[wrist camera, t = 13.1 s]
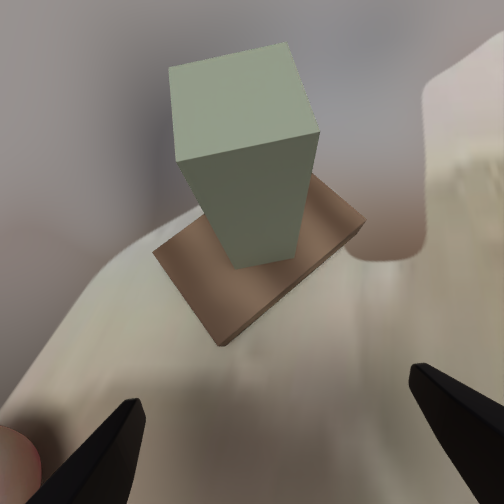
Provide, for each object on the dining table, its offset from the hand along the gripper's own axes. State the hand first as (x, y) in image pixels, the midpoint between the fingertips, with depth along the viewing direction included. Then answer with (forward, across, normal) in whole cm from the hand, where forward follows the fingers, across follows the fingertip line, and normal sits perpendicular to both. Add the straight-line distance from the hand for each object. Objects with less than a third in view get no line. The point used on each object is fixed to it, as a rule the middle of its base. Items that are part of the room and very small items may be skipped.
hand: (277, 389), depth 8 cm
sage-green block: (+14, -1, -1) cm, 15 cm away
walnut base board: (+17, -1, +1) cm, 17 cm away
